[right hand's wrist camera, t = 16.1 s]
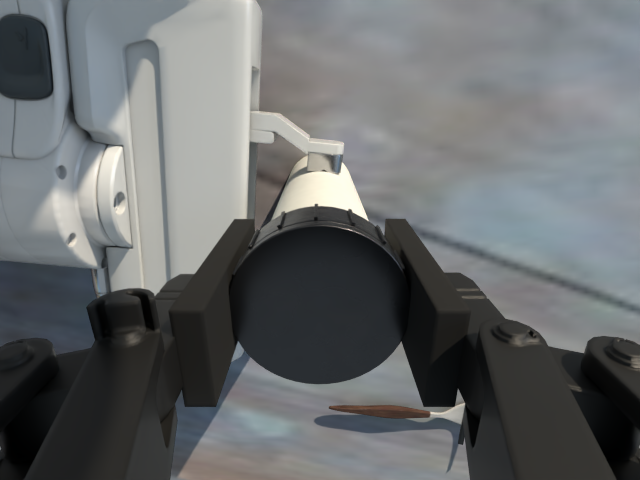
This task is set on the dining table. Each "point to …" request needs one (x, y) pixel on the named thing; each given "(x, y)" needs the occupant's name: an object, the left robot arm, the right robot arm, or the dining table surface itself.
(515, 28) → the dining table surface
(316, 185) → the white cylinder
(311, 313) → the lid
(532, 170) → the dining table surface
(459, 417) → the fork
